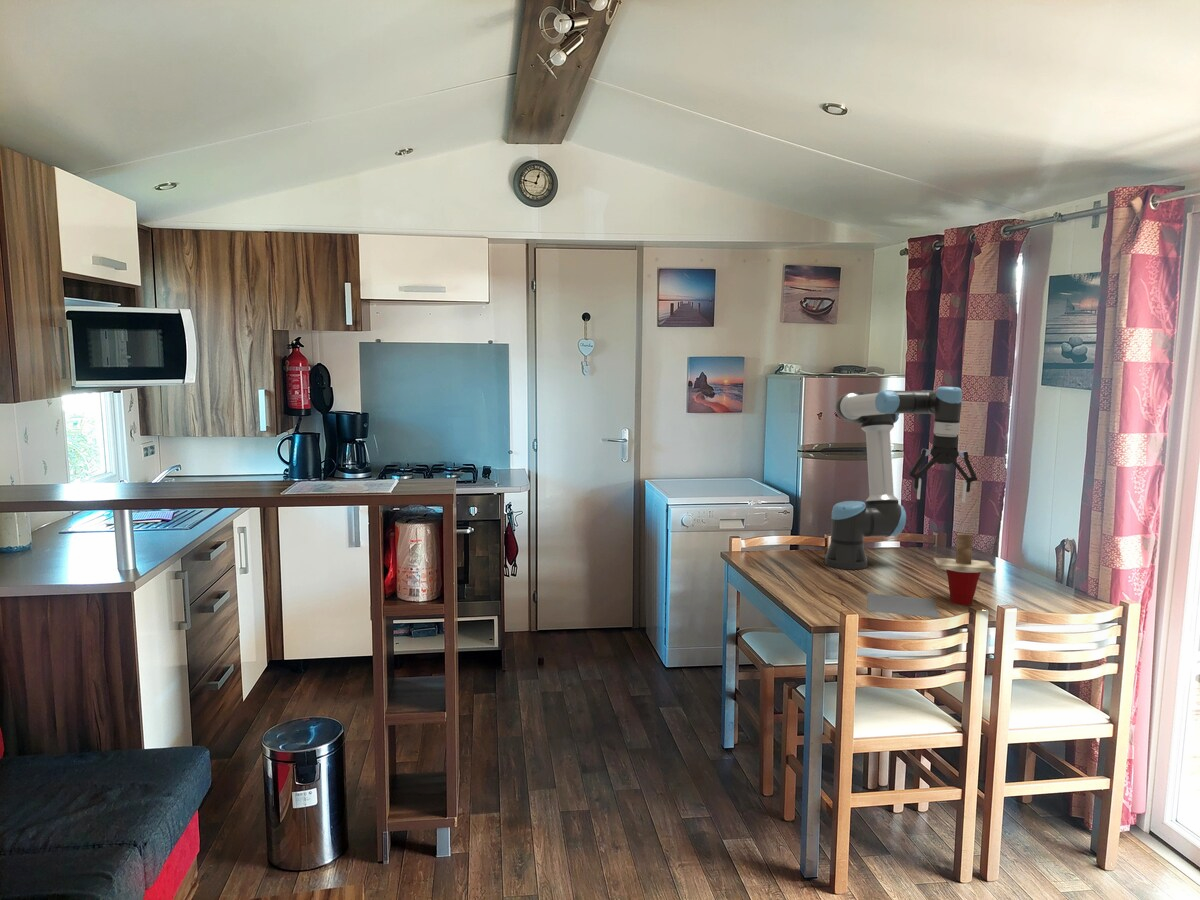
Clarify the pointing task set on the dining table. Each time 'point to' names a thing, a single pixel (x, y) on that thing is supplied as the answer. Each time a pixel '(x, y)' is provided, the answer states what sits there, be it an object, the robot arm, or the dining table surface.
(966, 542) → the lid
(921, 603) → the mat
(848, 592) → the dining table surface
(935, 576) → the dining table surface
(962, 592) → the plastic cup
